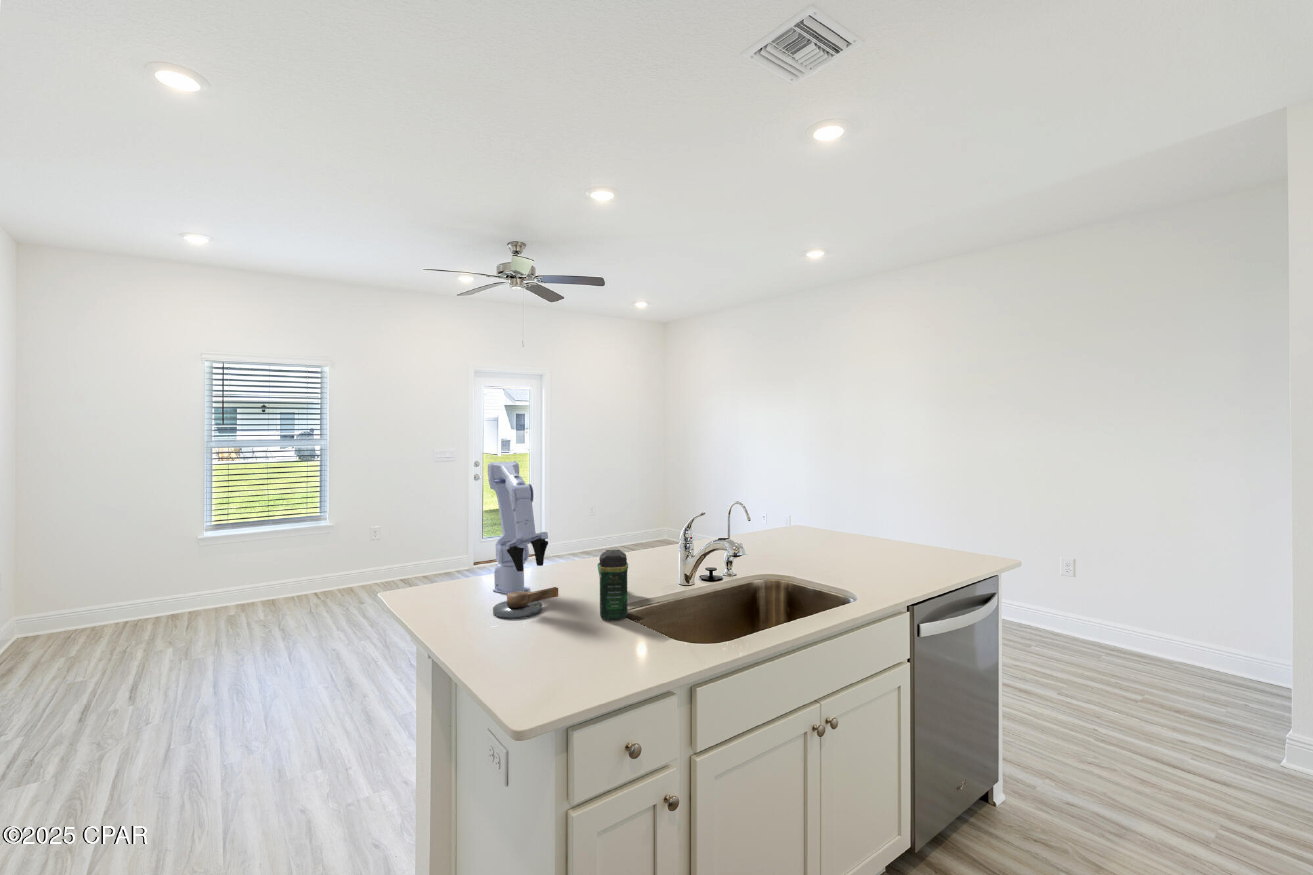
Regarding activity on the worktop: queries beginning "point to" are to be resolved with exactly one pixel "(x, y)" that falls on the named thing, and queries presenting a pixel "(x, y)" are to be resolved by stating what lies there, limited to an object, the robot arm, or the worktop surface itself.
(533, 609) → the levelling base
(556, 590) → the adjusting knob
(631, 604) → the worktop surface
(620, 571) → the coffee jar
